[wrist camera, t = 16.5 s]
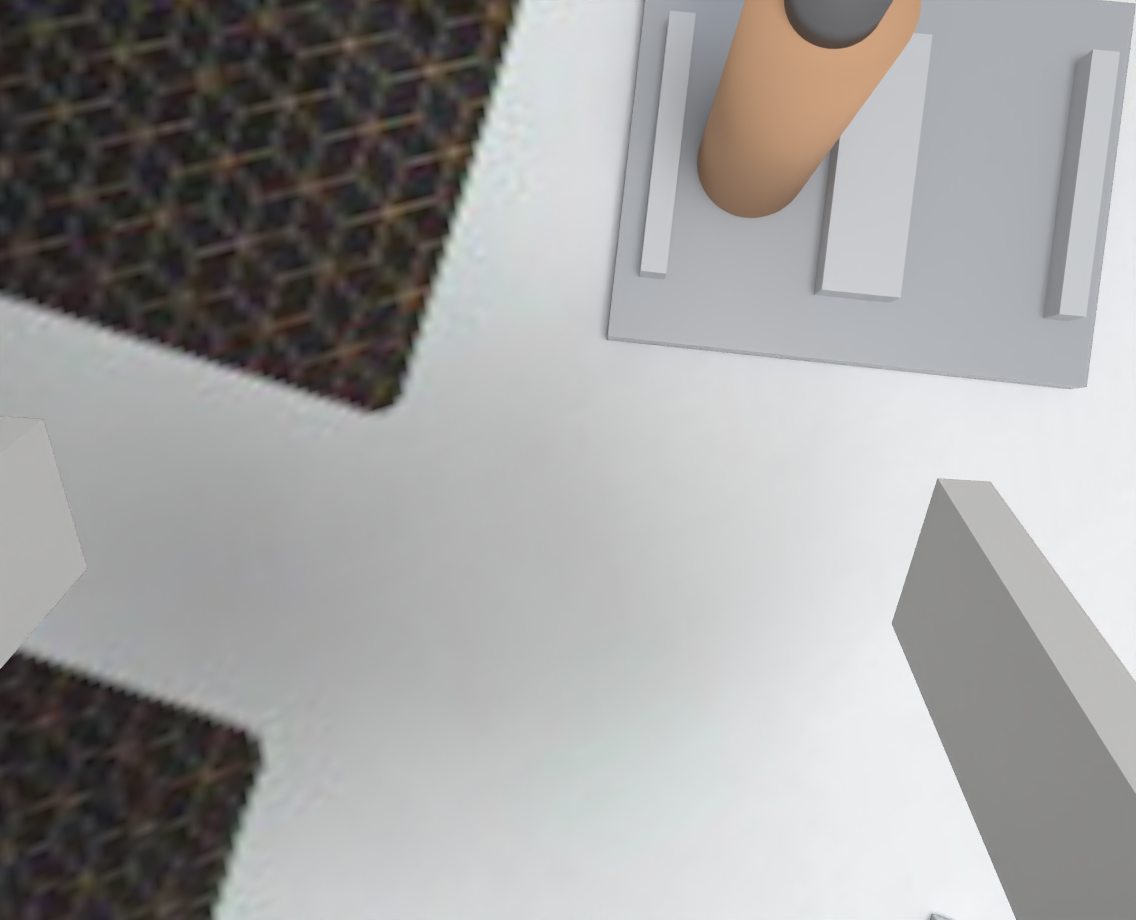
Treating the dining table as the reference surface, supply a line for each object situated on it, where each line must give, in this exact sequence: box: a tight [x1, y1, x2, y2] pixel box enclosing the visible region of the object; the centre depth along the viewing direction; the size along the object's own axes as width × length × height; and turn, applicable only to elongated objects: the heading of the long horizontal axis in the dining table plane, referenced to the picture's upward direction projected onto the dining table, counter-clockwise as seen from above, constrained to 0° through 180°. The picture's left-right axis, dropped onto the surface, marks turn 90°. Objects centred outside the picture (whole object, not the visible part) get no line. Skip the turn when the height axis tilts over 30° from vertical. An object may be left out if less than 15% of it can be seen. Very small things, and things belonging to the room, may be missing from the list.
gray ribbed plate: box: [607, 0, 1136, 389], centre depth 32 cm, size 15×19×5 cm
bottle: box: [697, 0, 922, 218], centre depth 27 cm, size 4×4×13 cm
